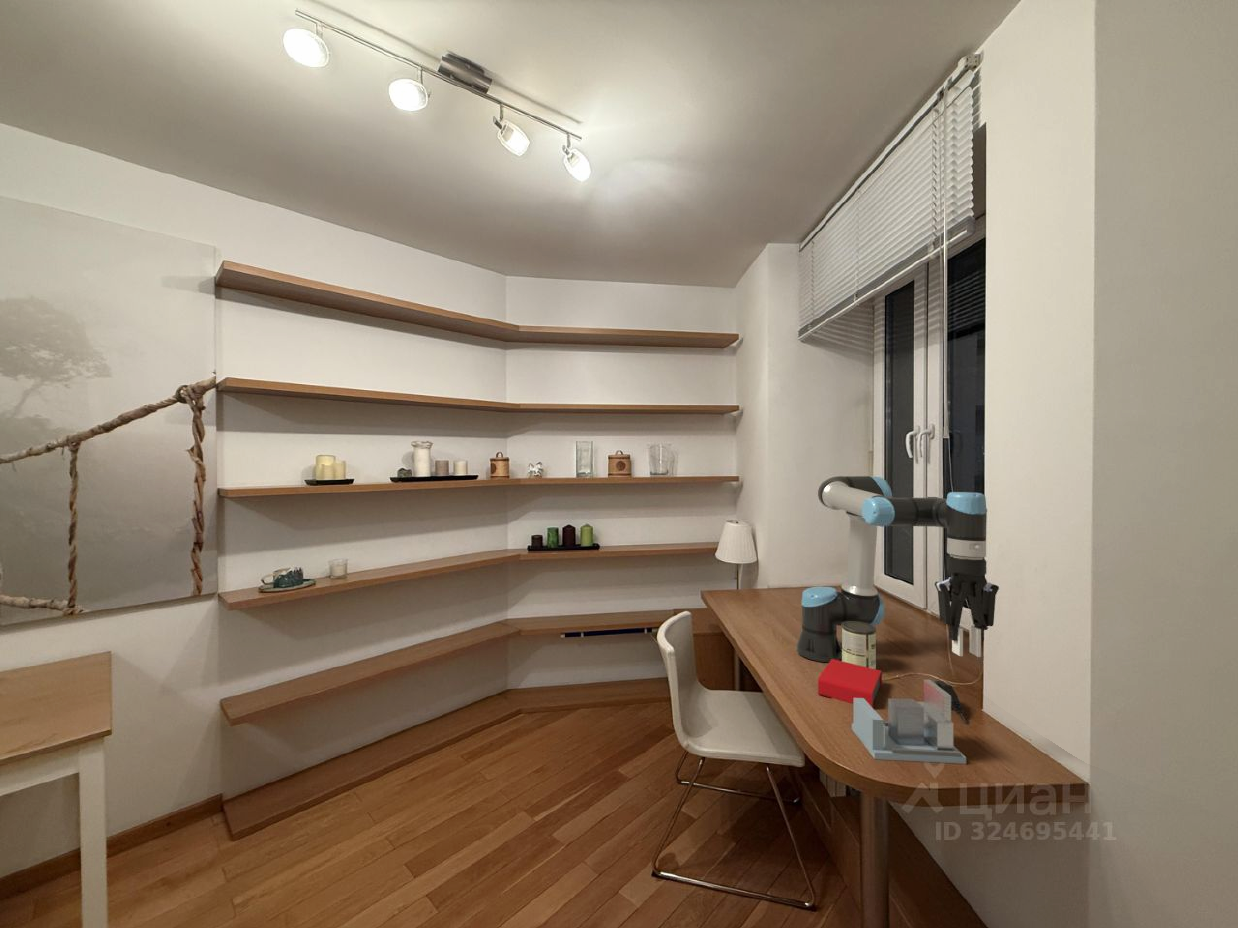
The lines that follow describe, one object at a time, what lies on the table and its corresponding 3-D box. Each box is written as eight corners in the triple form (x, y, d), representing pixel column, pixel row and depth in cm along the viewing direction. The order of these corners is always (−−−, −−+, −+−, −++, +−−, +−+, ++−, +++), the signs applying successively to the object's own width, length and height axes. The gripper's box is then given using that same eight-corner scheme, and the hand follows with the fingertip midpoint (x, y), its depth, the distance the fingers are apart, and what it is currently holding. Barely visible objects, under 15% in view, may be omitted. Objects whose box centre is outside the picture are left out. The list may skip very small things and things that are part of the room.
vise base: (851, 728, 116) (851, 695, 116) (933, 732, 114) (933, 699, 114) (874, 758, 104) (874, 722, 104) (966, 763, 102) (966, 726, 102)
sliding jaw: (913, 727, 114) (913, 677, 114) (927, 727, 113) (927, 678, 113) (937, 751, 104) (937, 696, 104) (953, 751, 104) (953, 697, 104)
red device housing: (832, 673, 148) (832, 658, 148) (881, 686, 139) (881, 670, 139) (818, 694, 134) (818, 678, 134) (872, 710, 125) (872, 692, 125)
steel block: (888, 734, 111) (888, 698, 111) (913, 735, 111) (913, 698, 111) (897, 744, 107) (898, 706, 107) (923, 745, 107) (923, 707, 107)
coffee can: (842, 658, 158) (842, 618, 158) (876, 665, 153) (876, 623, 153) (840, 670, 149) (840, 627, 150) (876, 677, 144) (876, 633, 144)
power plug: (958, 722, 118) (931, 676, 127) (944, 734, 122) (920, 689, 132) (979, 721, 118) (951, 676, 127) (964, 734, 122) (938, 689, 132)
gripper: (940, 559, 105) (940, 659, 105) (1015, 560, 104) (1015, 662, 104) (921, 552, 113) (921, 646, 113) (990, 554, 111) (990, 649, 111)
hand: (966, 653), depth 108 cm, fingers open, 3 cm apart
